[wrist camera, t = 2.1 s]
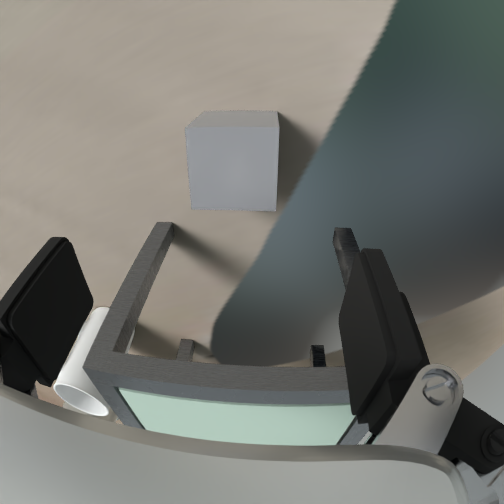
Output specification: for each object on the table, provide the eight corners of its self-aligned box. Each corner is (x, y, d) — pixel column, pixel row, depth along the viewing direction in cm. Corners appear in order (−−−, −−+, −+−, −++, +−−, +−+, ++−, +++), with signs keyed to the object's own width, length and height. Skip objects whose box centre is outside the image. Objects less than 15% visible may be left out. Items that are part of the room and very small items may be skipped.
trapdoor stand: (321, 352, 38) (331, 472, 25) (183, 346, 38) (156, 461, 25) (350, 228, 27) (402, 385, 14) (156, 222, 28) (81, 367, 15)
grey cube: (274, 177, 25) (275, 211, 20) (207, 175, 25) (191, 209, 20) (276, 111, 22) (279, 127, 17) (204, 111, 22) (185, 127, 17)
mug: (146, 328, 37) (118, 411, 27) (122, 346, 40) (95, 419, 30) (82, 279, 33) (36, 358, 23) (64, 303, 36) (24, 374, 26)
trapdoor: (318, 458, 24) (318, 467, 23) (170, 449, 25) (168, 458, 24) (360, 389, 16) (363, 404, 15) (123, 376, 17) (118, 389, 16)
